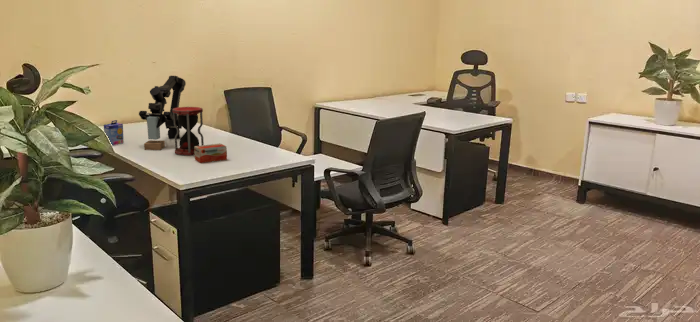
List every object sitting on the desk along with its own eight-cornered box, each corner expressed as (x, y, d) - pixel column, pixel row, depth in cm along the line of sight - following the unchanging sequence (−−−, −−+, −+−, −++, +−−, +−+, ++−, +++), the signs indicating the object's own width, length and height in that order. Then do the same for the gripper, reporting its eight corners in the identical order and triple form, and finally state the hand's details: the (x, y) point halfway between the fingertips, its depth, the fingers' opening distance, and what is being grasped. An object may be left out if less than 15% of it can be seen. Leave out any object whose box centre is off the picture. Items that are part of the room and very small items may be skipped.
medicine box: (221, 157, 302) (220, 142, 300) (227, 160, 296) (226, 145, 294) (194, 160, 293) (193, 145, 291) (200, 163, 287) (199, 148, 285)
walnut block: (149, 147, 322) (149, 140, 321) (165, 147, 323) (164, 140, 322) (144, 150, 314) (144, 143, 313) (160, 150, 314) (159, 143, 313)
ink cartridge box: (110, 146, 320) (108, 121, 317) (104, 145, 323) (102, 120, 319) (124, 143, 329) (122, 119, 325) (118, 142, 331) (116, 118, 328)
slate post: (152, 137, 319) (150, 116, 316) (160, 137, 319) (158, 116, 316) (148, 139, 314) (146, 117, 311) (156, 139, 314) (155, 118, 311)
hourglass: (174, 156, 300) (171, 111, 294) (175, 149, 315) (172, 106, 309) (204, 155, 304) (202, 110, 298) (204, 148, 319) (202, 106, 313)
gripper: (138, 96, 315) (131, 119, 307) (170, 97, 314) (163, 120, 306) (145, 108, 325) (138, 130, 317) (176, 109, 324) (170, 131, 316)
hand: (152, 127), depth 314 cm, fingers closed on slate post, 5 cm apart
